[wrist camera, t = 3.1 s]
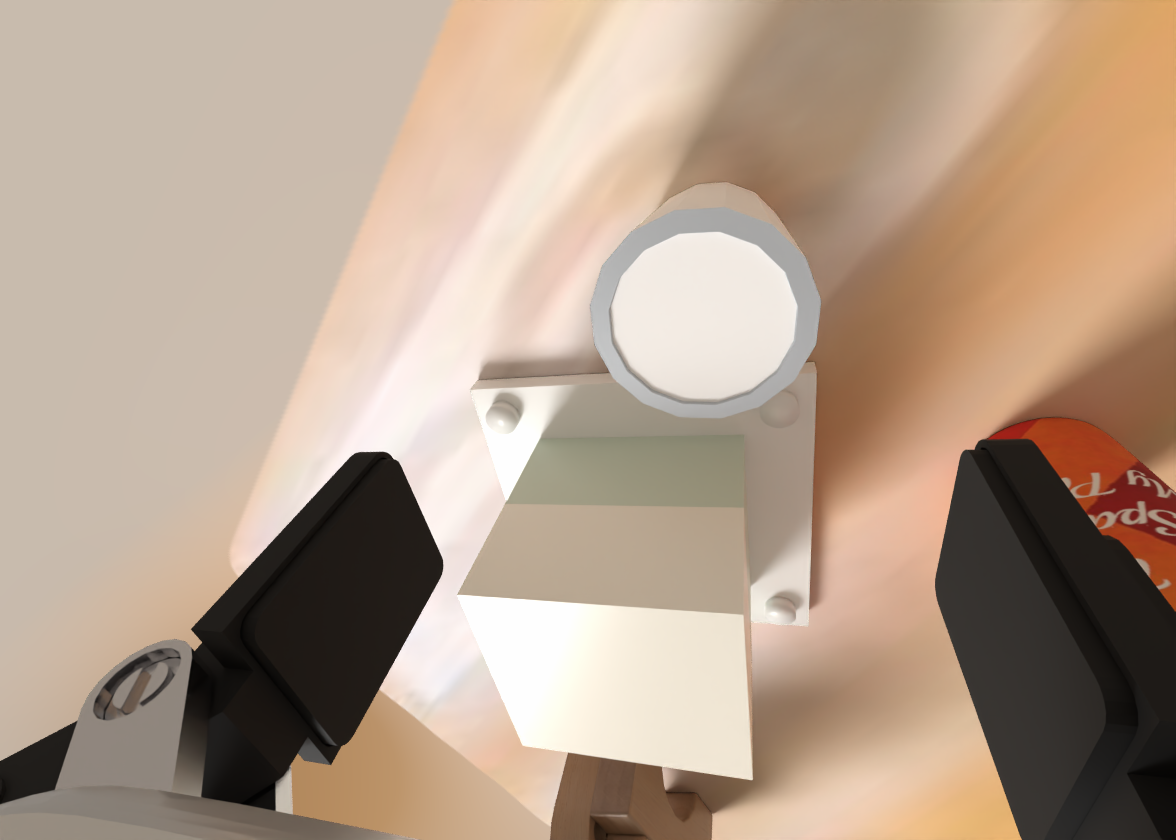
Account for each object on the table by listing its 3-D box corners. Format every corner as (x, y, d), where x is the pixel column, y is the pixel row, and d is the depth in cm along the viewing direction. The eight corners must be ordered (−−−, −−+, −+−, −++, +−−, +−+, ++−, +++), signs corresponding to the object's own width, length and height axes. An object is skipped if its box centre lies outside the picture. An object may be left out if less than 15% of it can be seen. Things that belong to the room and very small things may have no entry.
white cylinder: (811, 317, 23) (832, 406, 17) (649, 347, 25) (621, 433, 20) (790, 138, 20) (808, 175, 14) (607, 192, 22) (559, 241, 16)
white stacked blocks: (814, 361, 24) (855, 548, 15) (806, 611, 32) (830, 828, 23) (477, 380, 29) (355, 531, 20) (545, 594, 37) (481, 770, 28)
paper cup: (1124, 362, 21) (1563, 727, 10) (1171, 504, 24) (1561, 922, 12) (905, 440, 25) (1039, 768, 14) (966, 555, 27) (1121, 911, 16)
